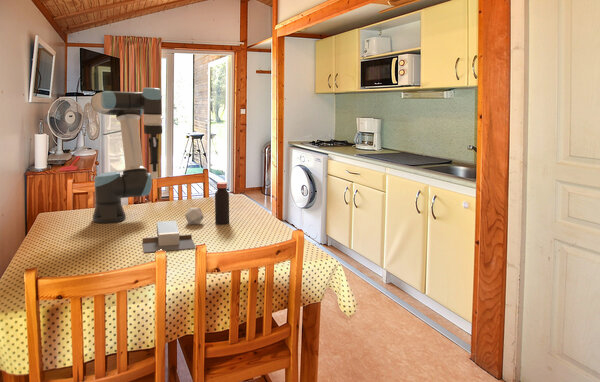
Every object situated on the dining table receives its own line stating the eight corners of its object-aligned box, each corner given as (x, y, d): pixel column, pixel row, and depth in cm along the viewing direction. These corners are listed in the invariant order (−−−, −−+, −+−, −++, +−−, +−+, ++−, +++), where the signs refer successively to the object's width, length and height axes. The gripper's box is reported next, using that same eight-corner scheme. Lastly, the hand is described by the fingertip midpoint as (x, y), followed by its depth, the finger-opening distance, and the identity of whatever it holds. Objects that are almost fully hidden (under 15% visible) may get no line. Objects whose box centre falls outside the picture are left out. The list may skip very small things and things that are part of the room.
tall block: (156, 221, 198) (158, 234, 188) (176, 220, 201) (179, 233, 190) (156, 232, 200) (158, 245, 190) (176, 231, 203) (179, 244, 192)
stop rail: (142, 242, 195) (142, 237, 195) (191, 238, 202) (191, 234, 202) (142, 243, 194) (142, 238, 194) (191, 239, 201) (191, 234, 201)
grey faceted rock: (194, 228, 222) (205, 211, 224) (179, 218, 223) (191, 201, 224) (197, 229, 230) (208, 213, 232) (183, 220, 231) (194, 204, 232)
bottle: (222, 225, 225) (222, 184, 221) (212, 223, 228) (211, 183, 225) (232, 222, 231) (231, 182, 227) (221, 220, 234) (221, 181, 231)
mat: (142, 243, 194) (142, 242, 194) (191, 239, 201) (191, 238, 201) (144, 253, 181) (143, 252, 181) (196, 248, 188) (196, 247, 188)
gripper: (163, 125, 196) (165, 180, 201) (160, 123, 208) (161, 175, 213) (144, 125, 193) (146, 181, 198) (142, 123, 205) (144, 176, 210)
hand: (154, 178), depth 205 cm, fingers closed
